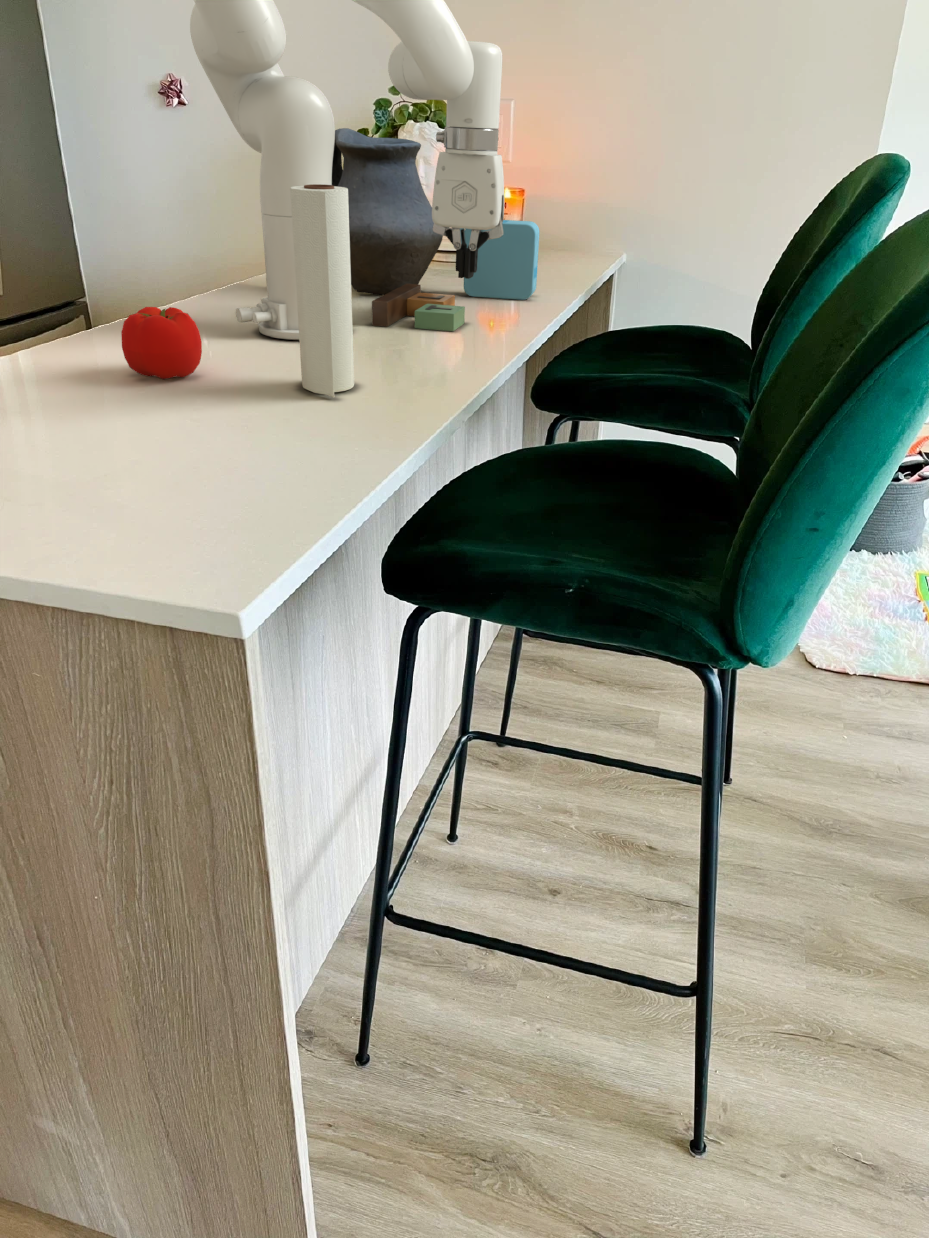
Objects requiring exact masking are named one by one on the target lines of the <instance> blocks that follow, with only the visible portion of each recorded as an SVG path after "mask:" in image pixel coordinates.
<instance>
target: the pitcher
mask: <svg viewBox="0 0 929 1238" xmlns="http://www.w3.org/2000/svg"><path fill="white" fill-rule="evenodd" d="M421 148H422V144H421V143H420V142H418V141H414V140H411V139H407V138H395V137H394V138H393V137H372V136H367V135H365V134H364V133H360V132H358V131H356V130H354V129H351V128H348V127H347V128H346V127H343V128H342V127H341V128H337V129H335V142H334V152H333V162H332V185H333V186H336V187H345V188H347V189H348V205H349V236H350V267H351V288H353V289H354V290H355V291H356V292H357V293H365V294H370V295H375V296H378V295H379V296H383V295H385V294H387V293H389V292H391V291H393V290H395V289H397V288H399V287H401V286H403V285H405V284H419V285H420V281H421V280H422V278H423V277H424V275H425V274H426V271H427V270H428V269H429V266H430V264H431V263H432V261H433V259H434V258H435V256H436V255H437V252H438V250H439V248H440V247H441V244H442V242H443V237H444V236H443V235H440V234H437V233H435V232H433V225H434V222H433V220H432V205H431V203H430V201H429V199H428V197H427V195H426V193H425V190H424V188H423V186H422V185H423V184H422V181H421V178H420V175H419V171H418V168H417V164H416V160H417V156H418V153H419V151H420V150H421ZM342 158H343V159H342Z"/></svg>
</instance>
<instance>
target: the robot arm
mask: <svg viewBox="0 0 929 1238" xmlns="http://www.w3.org/2000/svg"><path fill="white" fill-rule="evenodd" d="M193 1H194V6H193V8H192V11H191V14H190V19H189V33H190V39H191V42H192V46H193V49H194V52H195V55H196V57H197V59H198V61H199V64H200V65H201V67H202V69H203V71H204V73H205V75H206V76H207V78H208V80H209V82H210V84H211V86H212V88H213V90H214V92H215V94H216V95H217V97H218V100H219V101H220V103H221V104H222V107H223V109H224V111H225V112H226V114H227V117H228V118H229V119H230V122H231V123H232V125H233V126H234V128H235V130H236V132H237V133H238V135H239V136H240V138H241V139H242V140H243V141H244V143H245V144H246V145H248V147H249V148H251V149H252V150H254V151H255V152H257V153H260V154H261V157H260V169H259V170H260V171H259V203H260V213H261V224H262V225H261V226H262V237H263V251H264V252H263V254H264V266H265V279H266V281H265V282H266V289H267V290H266V292H267V297H261V298H260V303H257V304H256V306H253V307H250V306H245V307H238V308H236V309H235V312H234V313H235V319H236V321H237V322H238V323H239V324H240V323H249V322H253V323H254V324H258V331H259V332H260V334H262V335H264V336H265V337H270V338H274V339H281V340H293V341H299V324H298V307H297V291H296V274H295V257H294V240H293V223H292V206H291V190H290V188H291V187H295V186H304V185H312V184H321V185H332V162H333V152H334V142H335V130H336V124H335V123H336V122H335V117H334V112H333V109H332V106H331V103H330V102H329V100H328V98H327V96H326V95H325V94H324V92H323V91H322V90H321V89H320V88H319V87H318V86H317V85H315V84H314V83H313V82H311V81H309V80H307V79H305V78H303V77H298V76H292V75H291V76H290V75H285V74H284V73H283V71H282V68H281V67H280V64H279V61H280V60H281V59H282V57H283V56H284V53H285V51H286V45H287V32H286V27H285V24H284V23H285V22H284V20H283V17H282V15H281V13H280V11H279V9H278V7H277V5H276V3H275V1H274V0H193ZM352 2H354V3H356V4H358V5H359V6H361V7H363V8H365V9H367V10H368V11H370V12H371V13H373V14H374V15H375V16H377V17H379V19H381V20H382V21H383V22H384V23H385V24H386V25H387V26H388V27H389V28H390V29H391V30H392V31H393V32H394V34H396V36H397V37H398V38H399V40H400V42H399V43H397V44H396V46H395V47H394V48H393V50H392V51H391V53H390V55H389V58H388V64H387V72H388V76H389V80H390V82H391V83H392V85H393V87H394V88H395V89H396V90H397V91H398V92H399V94H401V95H403V96H404V97H406V98H409V99H413V100H420V101H430V100H435V101H446V121H445V127H444V130H441V131H436V135H435V140H436V143H441V144H443V147H444V148H445V150H444V151H439V152H438V157H437V163H436V168H435V176H434V183H433V194H432V202H431V203H432V205H431V207H432V220H433V222H434V225H433V232H435V233H437V234H440V235H443V237H445V238H447V239H448V241H449V242H450V243H451V244H452V245H453V249H454V250H455V271H456V272H458V273H457V274H458V275H457V277H458V279H464V278H465V279H469V278H471V277H473V275H474V273H476V271H477V260H478V249H479V248H480V247H481V246H482V245H483V244H484V243H485V242H486V241H487V240H490V239H495V238H500V237H502V236H503V234H504V232H503V226H502V223H503V220H504V217H505V177H504V176H505V175H504V164H503V155H502V154H498V150H499V133H500V132H499V131H500V130H499V129H500V114H501V113H500V111H501V95H502V78H503V51H502V48H501V47H500V46H499V45H497V44H495V43H493V42H487V41H477V40H476V41H475V40H473V41H472V40H467V38H466V35H465V34H464V32H463V30H462V29H461V27H460V25H459V23H458V21H457V20H456V18H455V16H454V13H452V11H451V9H450V8H449V6H448V4H447V3H446V1H445V0H352ZM465 229H472V231H471V236H470V242H469V245H468V248H467V244H466V238H465ZM489 229H492V230H489ZM484 230H489V231H484Z"/></svg>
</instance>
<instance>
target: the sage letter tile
mask: <svg viewBox="0 0 929 1238" xmlns="http://www.w3.org/2000/svg"><path fill="white" fill-rule="evenodd" d="M465 311H466V307H465V305H455V306H451V305H439V304H426V305H424V306H422V307H420V308H419V309H417V310H415V316H414V329H422V330H432V331H442V332H443V331H444V332H455V331H456V330H458V329H459V328H460V327H462V326H463V325H464V324H465V319H466V318H465V315H466V312H465Z"/></svg>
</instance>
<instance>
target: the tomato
mask: <svg viewBox="0 0 929 1238" xmlns="http://www.w3.org/2000/svg"><path fill="white" fill-rule="evenodd" d="M120 332H121V336H120V337H121V349H122V354H123V357H124V359H125V361H126V363H127V365H128V366H129V368H130V369H131V370H132V371H134V373H137V374H140V375H142V376H146V377H156V378H159V379H161V380H169V379H172V378H180V379H181V378H182V379H183V378H185V377H188V376H190V375H192V374H193V373H194V372H195V371H196V369H197V368H198V367H199V365H200V363H201V359H202V353H203V350H202V349H203V343H202V337H201V332H200V330H199V327H198V325H197V323H196V321H195V320H194V319H193V318H192V317H191V315H189V313H187V312H184V311H183V310H182V309H180V308H177V307H172V306H169V307H167V308H163V309H160V308H159V307H157V306H144V307H143V308H141V309H139V310H138V311H137V312H135V313H133V314H129V315H128V317H127V318H126V319H125V320H124V321H123V324H122V328H121V331H120Z"/></svg>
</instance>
